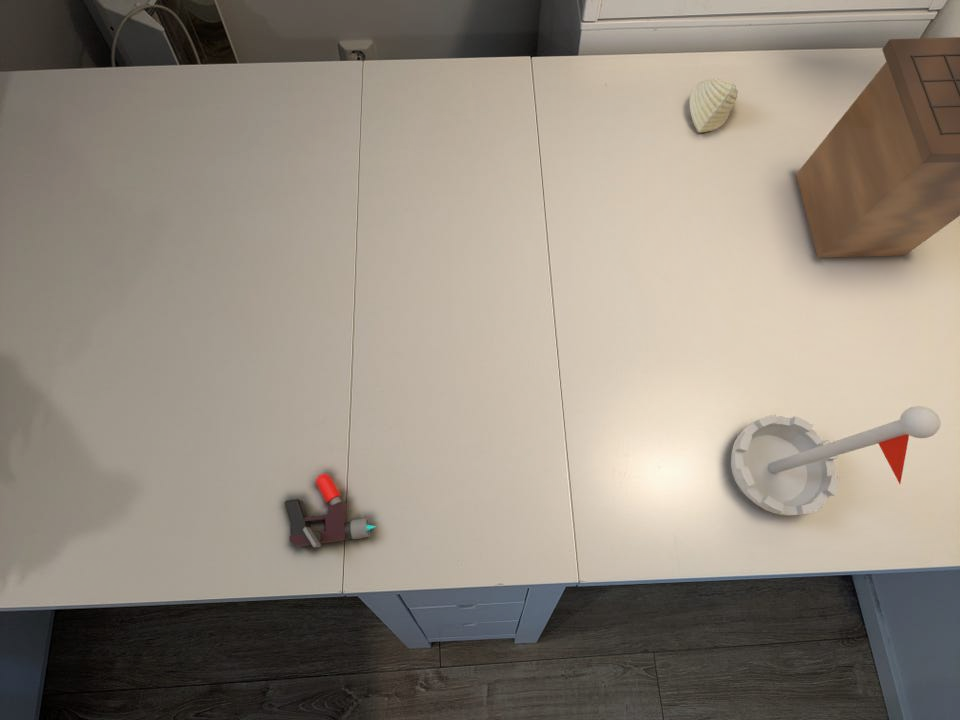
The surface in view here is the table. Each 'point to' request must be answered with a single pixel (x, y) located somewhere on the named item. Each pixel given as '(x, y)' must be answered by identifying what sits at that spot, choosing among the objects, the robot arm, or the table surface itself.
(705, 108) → the seashell
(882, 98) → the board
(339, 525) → the toy gun
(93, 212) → the table surface
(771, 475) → the flag stand
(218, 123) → the table surface
